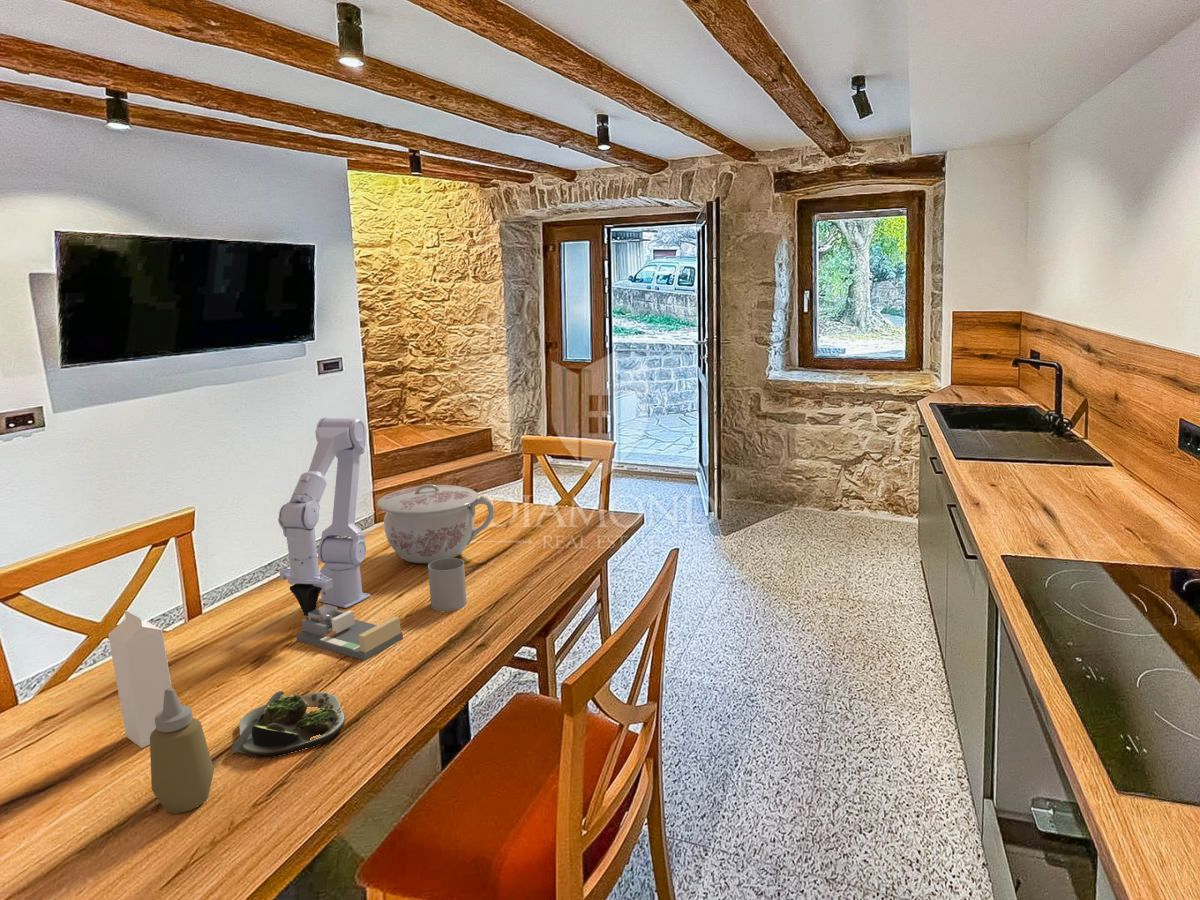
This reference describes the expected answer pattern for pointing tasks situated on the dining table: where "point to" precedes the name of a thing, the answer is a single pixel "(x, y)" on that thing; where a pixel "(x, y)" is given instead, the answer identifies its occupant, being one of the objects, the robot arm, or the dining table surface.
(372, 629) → the gauge base
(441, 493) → the chamber pot
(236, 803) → the dining table surface
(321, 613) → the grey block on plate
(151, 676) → the milk
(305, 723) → the salad plate
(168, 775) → the squeeze bottle
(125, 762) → the dining table surface
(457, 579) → the cup
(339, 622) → the cream thin slab
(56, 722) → the dining table surface
